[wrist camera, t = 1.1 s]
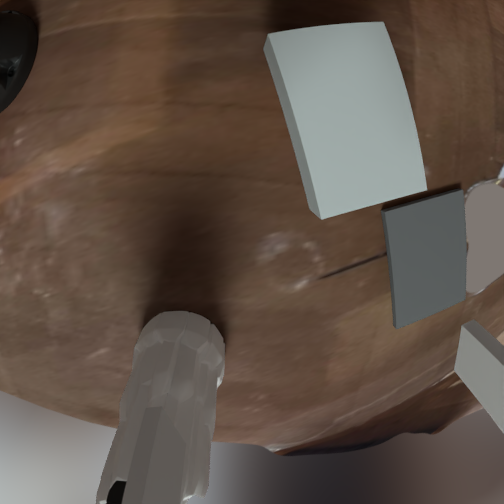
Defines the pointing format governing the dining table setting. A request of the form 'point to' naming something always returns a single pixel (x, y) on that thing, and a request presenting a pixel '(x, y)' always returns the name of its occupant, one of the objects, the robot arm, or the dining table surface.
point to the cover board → (346, 115)
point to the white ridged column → (171, 395)
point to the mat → (426, 255)
